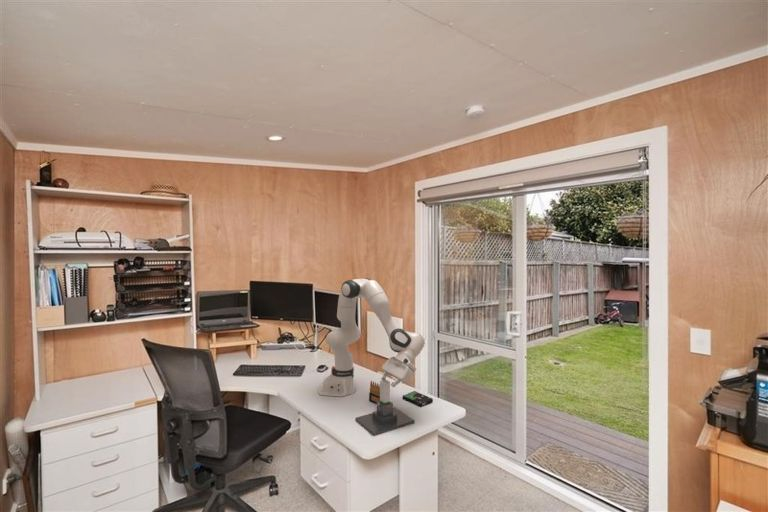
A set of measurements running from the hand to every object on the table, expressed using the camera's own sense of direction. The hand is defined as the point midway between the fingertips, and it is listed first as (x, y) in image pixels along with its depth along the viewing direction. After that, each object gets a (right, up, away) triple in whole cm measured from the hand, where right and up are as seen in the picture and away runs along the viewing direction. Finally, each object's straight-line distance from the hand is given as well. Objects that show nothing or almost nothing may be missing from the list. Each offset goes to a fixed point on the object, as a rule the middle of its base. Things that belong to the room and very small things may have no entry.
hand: (387, 383), depth 190 cm
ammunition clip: (-6, -19, +22) cm, 29 cm away
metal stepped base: (-1, -20, 0) cm, 20 cm away
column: (-1, -13, 0) cm, 14 cm away
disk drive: (+18, -19, +26) cm, 37 cm away
